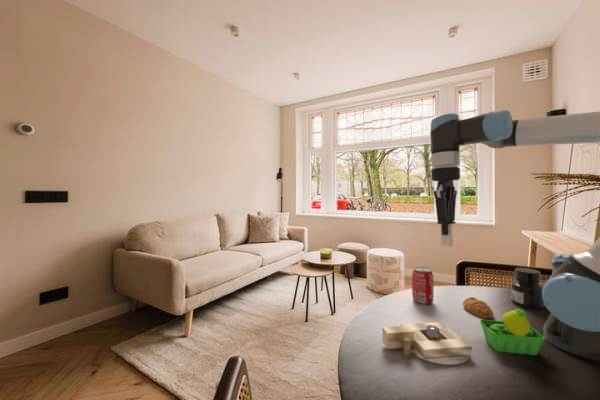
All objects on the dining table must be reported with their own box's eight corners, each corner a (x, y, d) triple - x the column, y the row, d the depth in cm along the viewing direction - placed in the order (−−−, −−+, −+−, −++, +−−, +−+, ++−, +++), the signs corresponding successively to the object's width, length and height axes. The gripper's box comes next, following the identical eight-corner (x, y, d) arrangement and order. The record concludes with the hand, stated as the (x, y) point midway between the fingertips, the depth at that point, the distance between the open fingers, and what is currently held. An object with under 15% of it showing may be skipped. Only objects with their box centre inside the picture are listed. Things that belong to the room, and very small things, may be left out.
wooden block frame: (440, 328, 75) (440, 315, 75) (471, 354, 63) (471, 338, 63) (376, 333, 73) (376, 319, 73) (395, 360, 61) (395, 343, 61)
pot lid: (478, 346, 68) (478, 328, 67) (455, 375, 57) (455, 354, 57) (416, 323, 80) (416, 309, 80) (388, 344, 69) (388, 327, 69)
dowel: (411, 356, 64) (411, 340, 64) (408, 358, 63) (408, 342, 63) (405, 353, 65) (405, 337, 65) (402, 355, 64) (402, 339, 64)
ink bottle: (509, 296, 99) (509, 265, 98) (541, 301, 94) (541, 268, 94) (513, 306, 91) (513, 272, 90) (547, 312, 86) (547, 276, 85)
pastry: (500, 319, 82) (500, 307, 82) (479, 320, 82) (479, 308, 82) (479, 306, 91) (479, 296, 91) (460, 307, 91) (460, 296, 91)
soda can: (429, 297, 99) (428, 266, 99) (436, 305, 92) (436, 272, 92) (409, 297, 100) (409, 266, 100) (416, 305, 93) (415, 271, 93)
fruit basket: (526, 341, 70) (526, 299, 69) (550, 362, 61) (551, 314, 61) (478, 337, 72) (478, 296, 72) (495, 357, 63) (495, 311, 63)
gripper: (439, 169, 86) (441, 241, 86) (423, 167, 77) (425, 247, 77) (465, 167, 81) (467, 243, 81) (451, 164, 72) (453, 250, 72)
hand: (446, 245), depth 79 cm, fingers closed
